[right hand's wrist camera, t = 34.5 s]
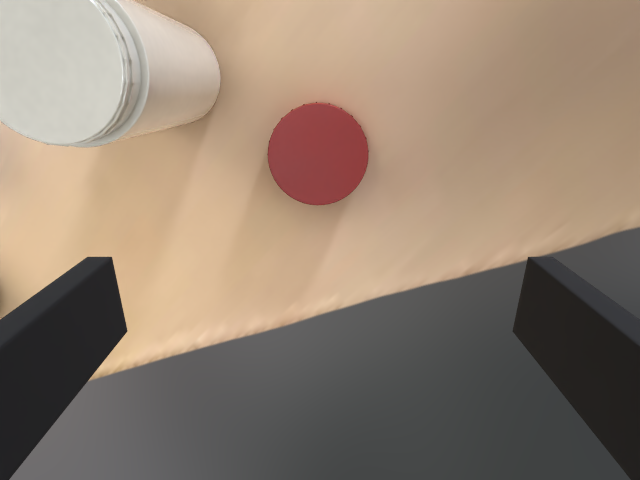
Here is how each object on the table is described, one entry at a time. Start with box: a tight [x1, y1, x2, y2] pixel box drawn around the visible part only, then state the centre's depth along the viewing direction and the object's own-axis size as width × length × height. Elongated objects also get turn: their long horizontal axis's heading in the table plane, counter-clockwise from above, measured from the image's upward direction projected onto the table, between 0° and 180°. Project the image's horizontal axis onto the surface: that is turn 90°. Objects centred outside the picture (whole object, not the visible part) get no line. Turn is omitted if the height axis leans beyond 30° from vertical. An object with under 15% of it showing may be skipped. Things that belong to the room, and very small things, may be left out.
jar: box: [0, 0, 221, 147], centre depth 29 cm, size 9×9×19 cm
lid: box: [268, 102, 369, 205], centre depth 39 cm, size 10×10×2 cm
